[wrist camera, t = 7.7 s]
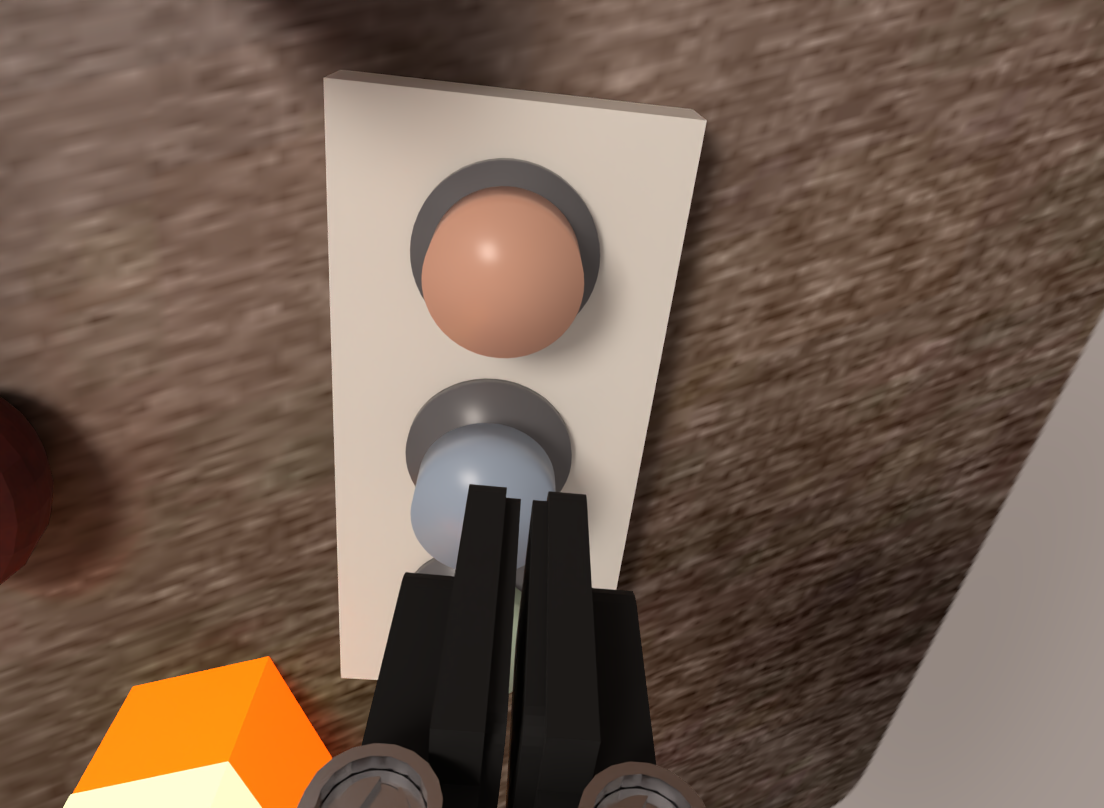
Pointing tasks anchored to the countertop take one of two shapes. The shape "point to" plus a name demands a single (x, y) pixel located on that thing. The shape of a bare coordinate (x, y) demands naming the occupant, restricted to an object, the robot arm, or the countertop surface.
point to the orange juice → (206, 744)
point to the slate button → (476, 483)
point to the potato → (21, 490)
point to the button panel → (461, 375)
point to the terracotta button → (503, 273)
